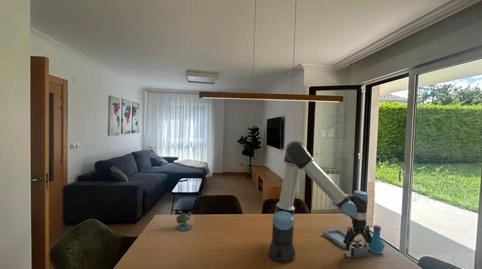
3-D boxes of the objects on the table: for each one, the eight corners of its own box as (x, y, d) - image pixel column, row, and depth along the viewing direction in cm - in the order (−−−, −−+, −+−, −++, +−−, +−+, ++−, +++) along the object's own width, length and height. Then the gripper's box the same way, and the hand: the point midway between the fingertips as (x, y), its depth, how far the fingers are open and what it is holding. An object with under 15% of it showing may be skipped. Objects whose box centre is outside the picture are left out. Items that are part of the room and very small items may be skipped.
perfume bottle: (384, 256, 141) (385, 231, 140) (366, 251, 146) (367, 226, 145) (384, 249, 149) (386, 225, 148) (367, 245, 154) (369, 222, 153)
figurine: (186, 232, 160) (186, 214, 160) (172, 229, 164) (173, 211, 164) (195, 226, 170) (195, 209, 169) (182, 223, 174) (182, 207, 173)
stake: (356, 255, 140) (357, 241, 140) (353, 254, 142) (354, 239, 142) (361, 254, 142) (362, 240, 141) (358, 253, 143) (359, 238, 143)
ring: (354, 258, 137) (354, 249, 137) (344, 251, 144) (344, 242, 144) (367, 256, 140) (368, 246, 140) (357, 249, 148) (357, 240, 147)
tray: (344, 249, 147) (344, 245, 147) (322, 234, 166) (323, 231, 166) (360, 246, 152) (361, 242, 152) (337, 232, 171) (338, 229, 170)
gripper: (347, 222, 133) (345, 260, 134) (380, 218, 141) (378, 254, 142) (337, 217, 140) (335, 253, 141) (369, 214, 149) (367, 248, 149)
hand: (357, 254), depth 142 cm, fingers open, 12 cm apart
